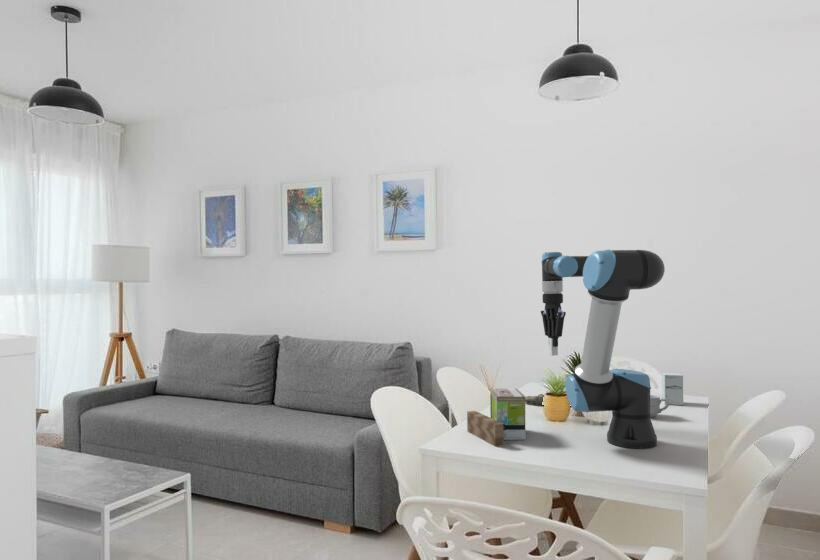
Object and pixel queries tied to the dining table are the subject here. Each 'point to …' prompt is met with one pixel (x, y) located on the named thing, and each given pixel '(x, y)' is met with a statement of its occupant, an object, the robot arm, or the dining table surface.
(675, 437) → the dining table surface
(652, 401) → the teacup
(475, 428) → the walnut board
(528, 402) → the elongated rock
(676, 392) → the supplement box
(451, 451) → the dining table surface
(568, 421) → the dining table surface
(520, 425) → the tea box
